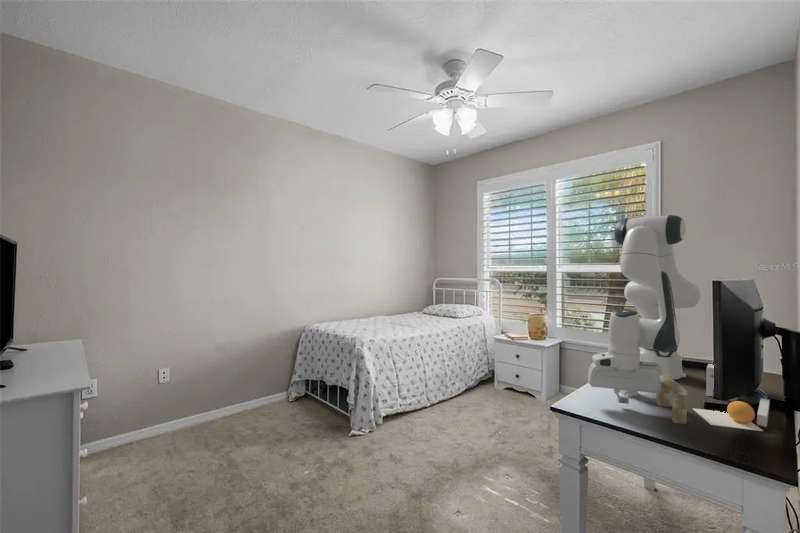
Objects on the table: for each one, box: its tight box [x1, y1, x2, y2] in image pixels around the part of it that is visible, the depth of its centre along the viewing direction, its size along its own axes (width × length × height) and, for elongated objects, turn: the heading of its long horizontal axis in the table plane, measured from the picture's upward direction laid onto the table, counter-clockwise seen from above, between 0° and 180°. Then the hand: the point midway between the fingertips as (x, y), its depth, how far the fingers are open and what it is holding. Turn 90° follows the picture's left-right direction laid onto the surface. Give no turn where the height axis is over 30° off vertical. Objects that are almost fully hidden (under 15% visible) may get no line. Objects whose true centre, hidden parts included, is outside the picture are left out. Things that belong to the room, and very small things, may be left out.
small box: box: [705, 363, 715, 397], centre depth 127 cm, size 8×6×10 cm
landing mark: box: [692, 407, 764, 432], centre depth 110 cm, size 12×12×1 cm
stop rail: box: [756, 397, 770, 428], centre depth 112 cm, size 18×2×3 cm, turn 133°
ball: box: [726, 400, 756, 423], centre depth 108 cm, size 6×6×6 cm
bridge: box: [655, 375, 688, 425], centre depth 114 cm, size 3×15×10 cm, turn 162°
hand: (622, 402), depth 118 cm, fingers closed
